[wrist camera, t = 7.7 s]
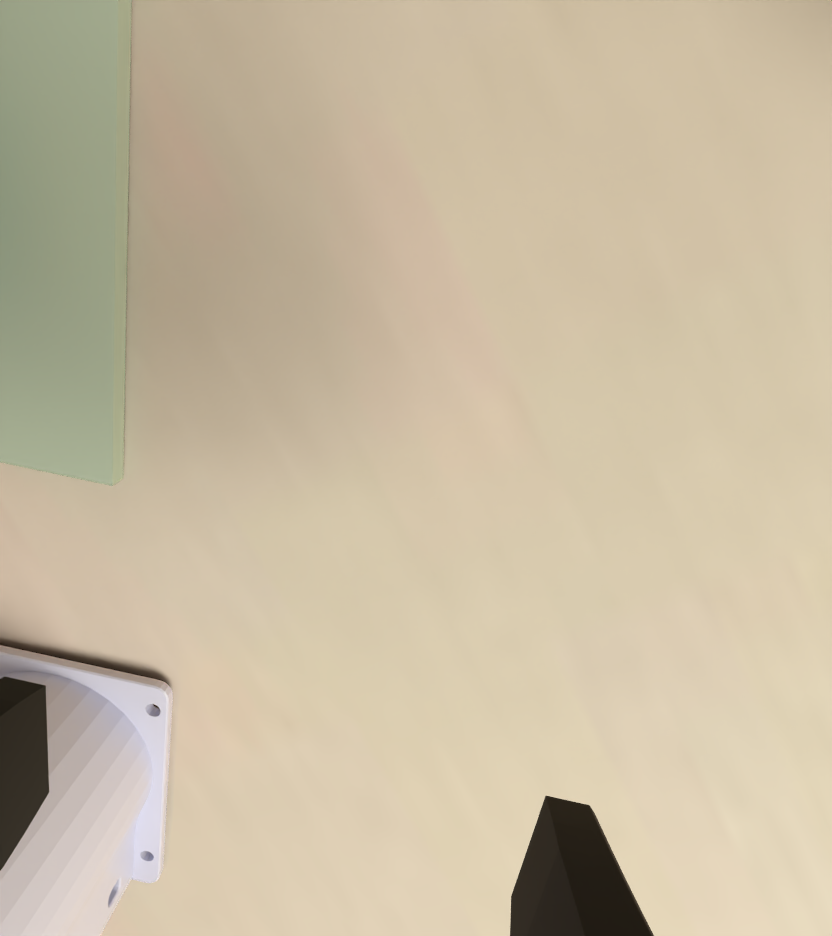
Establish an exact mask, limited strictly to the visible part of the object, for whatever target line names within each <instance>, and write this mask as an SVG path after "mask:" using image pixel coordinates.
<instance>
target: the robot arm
mask: <svg viewBox="0 0 832 936" xmlns="http://www.w3.org/2000/svg"><path fill="white" fill-rule="evenodd" d="M172 700H173V693H172V689H171V688H170V686H169V685H168V684H166V683H165V682H163V681H161V680H157V679H153V678H148V677H144V676H139V675H134V674H130V673H125V672H121V671H116V670H112V669H107V668H102V667H98V666H93V665H89V664H84V663H80V662H75V661H71V660H66V659H61V658H57V657H52V656H48V655H43V654H39V653H34V652H29V651H25V650H20V649H16V648H11V647H7V646H2V645H0V936H101V934H102V932H103V930H104V928H105V926H106V925H107V923H108V921H109V919H110V917H111V915H112V914H113V912H114V910H115V908H116V906H117V904H118V903H119V901H120V899H121V897H122V895H123V893H124V891H125V890H126V888H127V886H128V884H129V882H130V880H131V879H132V880H137V881H141V882H145V883H152V882H156V881H157V880H158V879H159V877H160V875H161V873H162V871H163V863H164V845H165V827H166V809H167V791H168V773H169V754H170V736H171V718H172ZM153 704H154V705H157V706H158V707H159V708H156V707H154V706H153ZM510 936H654V935H653V933H652V931H651V929H650V927H649V925H648V923H647V921H646V919H645V917H644V915H643V914H642V911H641V909H640V907H639V905H638V903H637V901H636V899H635V897H634V895H633V893H632V891H631V889H630V887H629V885H628V883H627V881H626V879H625V877H624V875H623V873H622V871H621V869H620V867H619V864H618V862H617V860H616V858H615V856H614V854H613V852H612V850H611V848H610V845H609V843H608V841H607V839H606V837H605V835H604V833H603V830H602V828H601V826H600V824H599V822H598V820H597V818H596V815H595V813H594V812H593V810H592V809H591V807H590V806H589V805H585V804H581V803H576V802H572V801H567V800H563V799H558V798H554V797H549V796H546V797H545V800H544V802H543V805H542V808H541V811H540V814H539V817H538V820H537V823H536V826H535V829H534V832H533V835H532V838H531V841H530V843H529V846H528V849H527V852H526V855H525V858H524V861H523V864H522V867H521V870H520V873H519V876H518V879H517V882H516V884H515V887H514V890H513V893H512V896H511V928H510Z"/></svg>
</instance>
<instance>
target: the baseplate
mask: <svg viewBox="0 0 832 936" xmlns="http://www.w3.org/2000/svg"><path fill="white" fill-rule="evenodd" d="M131 9H132V0H0V462H1V463H6V464H10V465H15V466H20V467H25V468H29V469H34V470H39V471H44V472H48V473H53V474H58V475H63V476H67V477H72V478H77V479H82V480H86V481H91V482H96V483H101V484H105V485H110V486H113V485H115V484H116V483H118V482H119V481H120V480H122V479H123V461H124V405H125V348H126V292H127V235H128V179H129V122H130V66H131Z"/></svg>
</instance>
